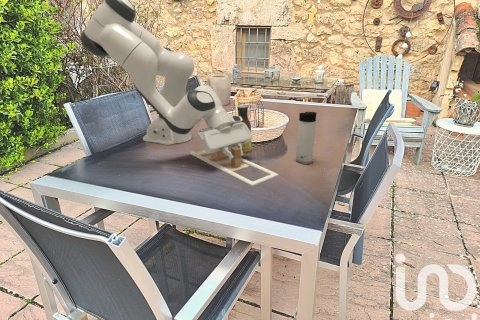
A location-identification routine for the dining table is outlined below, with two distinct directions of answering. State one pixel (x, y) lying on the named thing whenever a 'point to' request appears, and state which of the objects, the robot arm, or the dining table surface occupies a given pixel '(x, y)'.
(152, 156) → the dining table surface
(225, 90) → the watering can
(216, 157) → the terracotta block
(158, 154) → the dining table surface
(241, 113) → the sauce bottle
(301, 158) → the travel mug
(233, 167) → the pale strip
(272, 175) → the guide rails
